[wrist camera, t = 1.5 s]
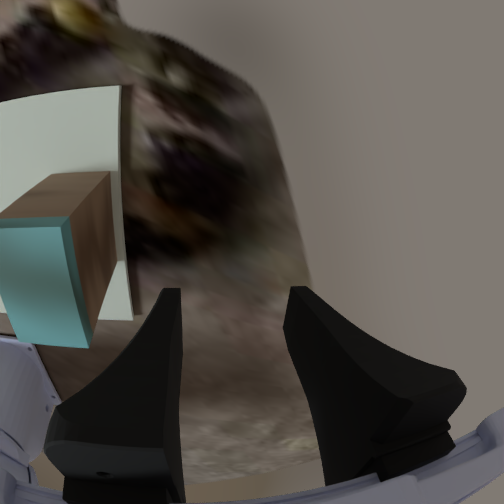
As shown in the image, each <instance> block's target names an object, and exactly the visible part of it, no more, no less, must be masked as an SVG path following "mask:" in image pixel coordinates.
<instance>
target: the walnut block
mask: <svg viewBox="0 0 504 504" xmlns="http://www.w3.org/2000/svg"><path fill="white" fill-rule="evenodd" d="M116 264H117V252H116V243H115V233H114V223H113V210H112V195H111V175H110V171H97V172H77V173H60V174H51V175H49V176H48V177H46V178H45V179H44V180H42V181H41V182H39V183H38V184H37V185H35V186H34V187H33V188H31V189H30V190H29V191H27V192H26V193H25V194H23V195H22V196H21V197H19V198H18V199H17V200H16V201H14V202H13V203H12V204H11V205H9V206H8V207H7V208H6V209H4V210H3V211H2V212H1V213H0V295H1V298H2V301H3V304H4V306H5V309H6V312H7V314H8V317H9V319H10V322H11V324H12V327H13V329H14V332H15V334H16V336H17V339H18V341H19V342H24V343H33V344H42V345H52V346H64V347H76V348H89V346H90V343H91V339H92V336H93V333H94V329H95V326H96V323H97V320H98V316H99V313H100V310H101V307H102V304H103V301H104V298H105V295H106V292H107V289H108V286H109V283H110V281H111V278H112V275H113V272H114V269H115V267H116Z"/></svg>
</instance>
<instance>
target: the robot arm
mask: <svg viewBox="0 0 504 504" xmlns="http://www.w3.org/2000/svg"><path fill="white" fill-rule="evenodd" d="M283 330H284V334H285V339H286V343H287V347H288V351H289V353H290V356H291V358H292V361H293V364H294V366H295V369H296V371H297V374H298V376H299V379H300V382H301V384H302V387H303V389H304V392H305V394H306V397H307V400H308V403H309V407H310V411H311V415H312V419H313V423H314V427H315V431H316V436H317V440H318V445H319V450H320V455H321V460H322V466H323V473H324V479H325V487H321V488H317V489H312V490H307V491H302V492H297V493H292V494H286V495H280V496H274V497H266V498H259V499H251V500H241V501H229V502H214V503H186V498H185V490H184V480H183V469H182V457H181V444H180V427H179V395H180V381H181V369H182V357H183V341H182V314H181V289H180V288H163V289H162V290H161V292H160V294H159V297H158V299H157V301H156V303H155V305H154V306H153V308H152V310H151V312H150V313H149V315H148V317H147V318H146V320H145V322H144V323H143V325H142V326H141V328H140V329H139V330H138V332H137V333H136V335H135V336H134V337H133V339H132V340H131V341H130V343H129V344H128V345H127V347H126V348H125V349H124V350H123V351H122V352H121V354H120V355H119V356H118V357H117V358H116V359H115V360H114V361H113V362H112V363H111V364H110V365H109V366H108V367H107V368H106V369H105V370H104V371H103V372H102V373H101V374H100V375H99V376H98V377H96V378H95V379H94V380H93V381H92V382H90V383H89V384H88V385H87V386H86V387H84V388H83V389H82V390H80V391H79V392H78V393H76V394H75V395H73V396H72V397H70V398H69V399H67V400H66V401H64V402H62V401H61V399H60V397H59V395H58V393H57V392H56V390H55V388H54V386H53V384H52V382H51V380H50V378H49V376H48V374H47V372H46V369H45V367H44V365H43V363H42V361H41V359H40V356H39V354H38V352H37V350H36V347H35V345H34V344H33V343H24V342H19V341H18V339H17V337H11V336H4V335H0V504H459V503H460V502H462V501H463V500H465V499H467V498H468V497H470V496H471V495H473V494H474V493H476V492H477V491H479V490H480V489H481V488H483V487H485V486H486V485H487V484H489V483H490V482H492V481H493V480H494V479H496V478H497V477H498V476H500V475H501V474H502V473H503V472H504V408H501V409H500V410H498V411H496V412H494V413H493V414H491V415H489V416H488V417H487V418H485V419H484V420H483V421H482V422H481V423H480V425H479V426H478V427H477V429H476V430H474V431H472V432H470V433H468V434H466V435H464V436H462V437H460V438H458V439H456V440H454V441H453V440H452V438H451V437H450V435H449V433H448V430H450V428H451V426H450V424H449V422H448V421H447V420H448V419H449V417H450V416H451V415H452V414H453V413H454V411H455V410H456V409H457V408H458V406H459V405H460V404H461V402H462V401H463V399H464V397H465V395H466V390H467V388H466V386H465V385H464V383H463V382H462V380H461V379H460V378H459V376H458V375H457V373H456V372H455V371H454V370H450V369H447V368H443V367H439V366H436V365H432V364H429V363H426V362H423V361H421V360H418V359H415V358H413V357H410V356H408V355H406V354H404V353H402V352H400V351H397V350H395V349H393V348H391V347H389V346H387V345H386V344H384V343H382V342H380V341H379V340H377V339H375V338H373V337H372V336H370V335H369V334H367V333H365V332H364V331H362V330H361V329H359V328H358V327H357V326H355V325H354V324H353V323H351V322H350V321H348V320H347V319H346V318H344V317H343V316H342V315H341V314H339V313H338V312H337V311H336V310H334V309H333V308H332V307H331V306H330V305H328V304H327V303H326V302H325V301H324V300H322V299H321V298H320V297H319V296H318V295H317V294H315V293H314V292H313V291H312V290H310V289H309V288H308V287H306V286H292V287H291V288H290V294H289V299H288V304H287V309H286V314H285V319H284V324H283ZM61 402H62V403H61ZM53 404H54V405H58V406H56V407H55V410H54V412H53V415H52V417H51V419H50V416H51V412H52V408H53ZM49 420H50V422H49ZM48 424H49V425H48ZM47 428H48V429H47ZM46 433H47V434H46ZM45 437H46V438H45ZM44 442H45V443H44ZM43 446H44V453H45V454H46V456H47V457H48V459H49V460H50V461H51V462H52V464H53V465H54V466H55V467H56V468H57V469H58V470H59V471H60V472H61V473H62V474H63V475H64V476H65V478H64V488H63V491H58V490H54V489H49V488H45V487H41V486H39V484H38V480H37V477H36V473H35V471H34V469H33V467H32V466H30V465H29V462H31V461H33V460H34V459H35V458H36V457H37V456H38V455H39V454H40V453H41V451H42V449H43Z"/></svg>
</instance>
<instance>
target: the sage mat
mask: <svg viewBox="0 0 504 504" xmlns="http://www.w3.org/2000/svg"><path fill="white" fill-rule="evenodd" d="M121 89H122V86H106V87H94V88H84V89H76V90H68V91H60V92H53V93H47V94H41V95H35V96H29V97H24V98H19V99H14V100H10V101H5V102H1V103H0V213H1V212H2V211H3V210H4V209H6V208H7V207H8V206H9V205H11V204H12V203H13V202H14V201H16V200H17V199H18V198H19V197H21V196H22V195H23V194H25V193H26V192H27V191H29V190H30V189H31V188H33V187H34V186H35V185H37V184H38V183H39V182H41V181H42V180H44V179H45V178H46V177H48V176H49V175H51V174H60V173H77V172H97V171H110V175H111V195H112V210H113V223H114V233H115V243H116V252H117V264H116V267H115V269H114V272H113V275H112V278H111V281H110V283H109V286H108V289H107V292H106V295H105V298H104V301H103V304H102V307H101V310H100V313H99V316H98V319H105V320H133V317H134V313H133V306H132V299H131V292H130V284H129V276H128V268H127V259H126V249H125V238H124V226H123V212H122V194H121V167H120V116H121ZM0 312H1V313H7V312H6V309H5V306H4V304H3V301H2V298H1V295H0Z"/></svg>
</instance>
